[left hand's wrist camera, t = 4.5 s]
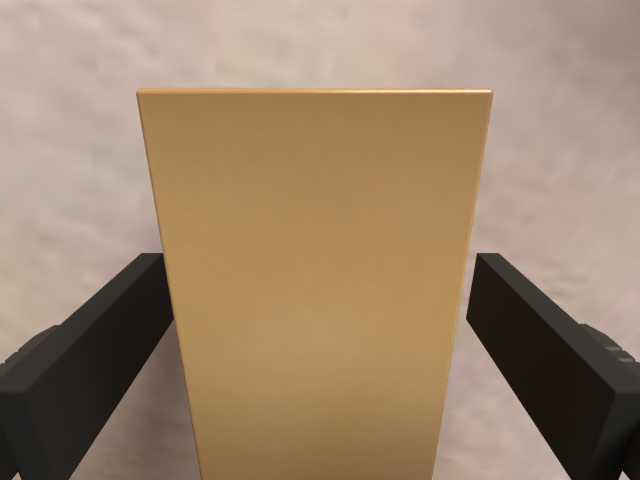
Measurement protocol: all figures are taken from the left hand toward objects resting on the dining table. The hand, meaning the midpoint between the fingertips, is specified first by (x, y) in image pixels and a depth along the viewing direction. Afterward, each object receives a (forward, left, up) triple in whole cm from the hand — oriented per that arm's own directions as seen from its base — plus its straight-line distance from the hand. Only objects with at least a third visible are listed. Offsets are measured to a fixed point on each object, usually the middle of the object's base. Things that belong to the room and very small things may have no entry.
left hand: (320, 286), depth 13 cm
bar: (+14, -15, -2) cm, 20 cm away
